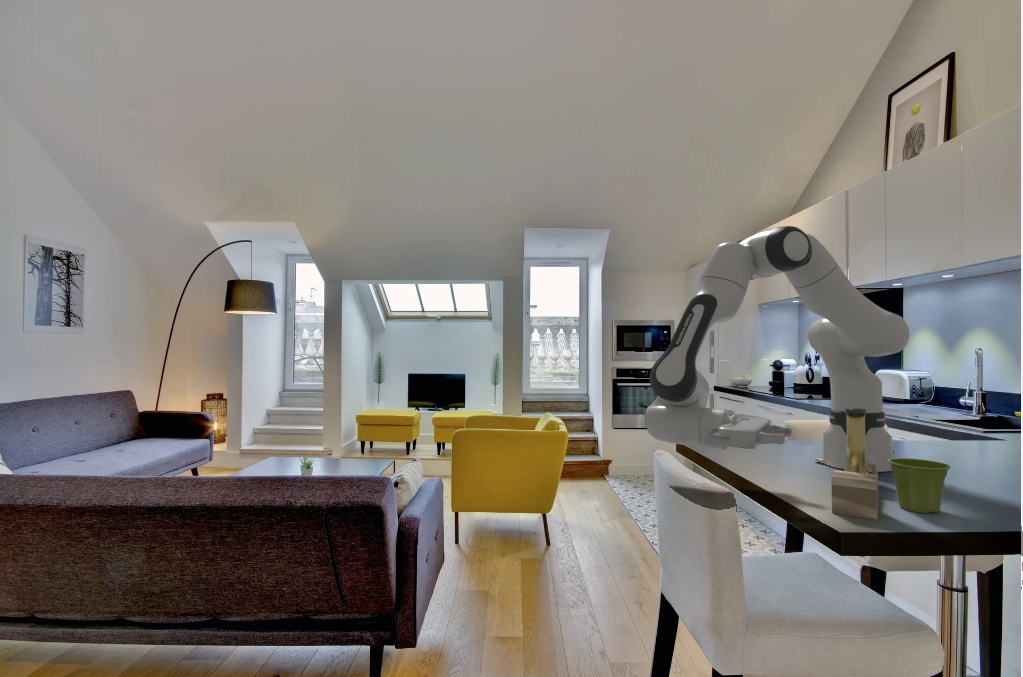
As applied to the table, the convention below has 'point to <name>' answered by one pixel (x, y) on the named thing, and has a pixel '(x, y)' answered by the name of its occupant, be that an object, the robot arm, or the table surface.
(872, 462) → the sleeve
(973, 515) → the table surface
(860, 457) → the slip tube
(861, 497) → the socket block
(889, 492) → the table surface
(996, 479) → the table surface
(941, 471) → the plant pot
